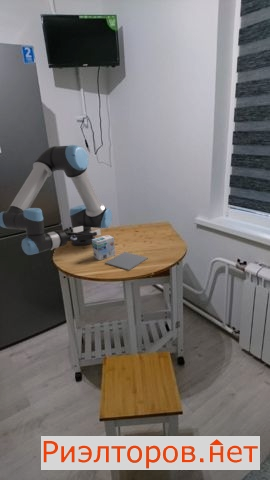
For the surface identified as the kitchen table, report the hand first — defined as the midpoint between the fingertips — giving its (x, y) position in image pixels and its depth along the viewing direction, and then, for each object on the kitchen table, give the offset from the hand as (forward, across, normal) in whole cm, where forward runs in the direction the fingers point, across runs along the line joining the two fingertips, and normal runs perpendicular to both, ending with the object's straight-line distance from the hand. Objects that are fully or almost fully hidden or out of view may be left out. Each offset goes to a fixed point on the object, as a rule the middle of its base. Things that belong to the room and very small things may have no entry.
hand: (91, 230), depth 146 cm
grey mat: (+11, +14, -17) cm, 25 cm away
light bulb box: (+9, -1, -17) cm, 19 cm away
